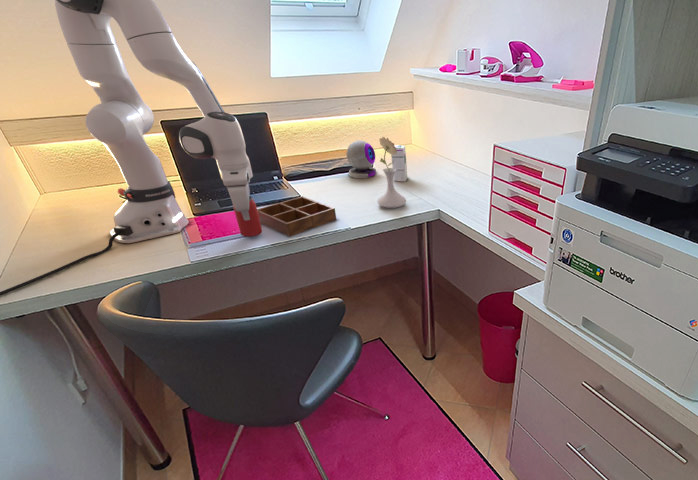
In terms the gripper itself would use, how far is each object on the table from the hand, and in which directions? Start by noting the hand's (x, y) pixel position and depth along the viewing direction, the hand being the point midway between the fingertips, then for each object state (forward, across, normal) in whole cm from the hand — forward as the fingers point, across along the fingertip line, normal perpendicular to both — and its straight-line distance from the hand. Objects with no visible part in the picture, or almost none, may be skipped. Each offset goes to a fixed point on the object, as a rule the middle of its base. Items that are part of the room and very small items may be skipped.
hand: (247, 215), depth 136 cm
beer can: (+7, 0, 0) cm, 7 cm away
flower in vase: (+7, -15, +51) cm, 53 cm away
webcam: (+7, -60, +48) cm, 77 cm away
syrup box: (+7, -46, +62) cm, 78 cm away
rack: (+7, -9, +15) cm, 19 cm away
